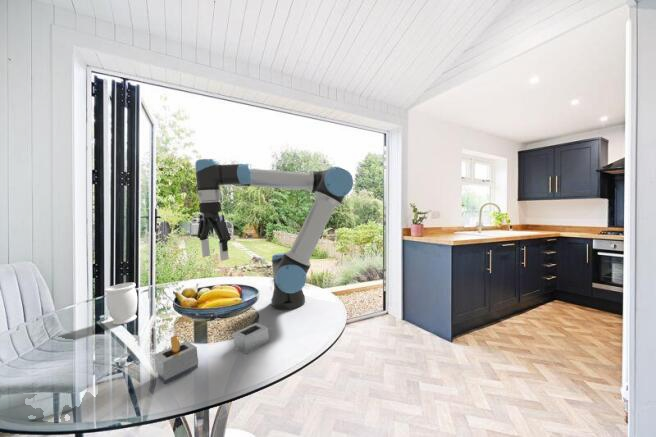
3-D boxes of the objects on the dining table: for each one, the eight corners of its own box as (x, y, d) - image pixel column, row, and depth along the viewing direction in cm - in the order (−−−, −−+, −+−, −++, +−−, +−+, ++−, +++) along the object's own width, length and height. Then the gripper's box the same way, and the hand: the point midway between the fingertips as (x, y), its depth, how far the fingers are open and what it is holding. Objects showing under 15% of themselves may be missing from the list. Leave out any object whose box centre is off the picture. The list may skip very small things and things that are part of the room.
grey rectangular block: (188, 356, 88) (186, 340, 87) (198, 363, 84) (196, 347, 83) (155, 371, 81) (153, 354, 81) (165, 380, 77) (163, 362, 76)
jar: (124, 326, 115) (119, 290, 114) (102, 326, 118) (98, 290, 116) (145, 315, 126) (141, 282, 124) (125, 314, 128) (121, 282, 127)
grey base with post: (190, 361, 88) (186, 328, 87) (198, 367, 84) (194, 333, 83) (158, 377, 81) (153, 341, 80) (165, 384, 78) (160, 346, 77)
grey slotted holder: (257, 336, 101) (256, 322, 101) (268, 341, 97) (267, 327, 97) (234, 347, 94) (233, 333, 94) (246, 354, 90) (244, 338, 90)
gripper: (184, 203, 112) (190, 256, 114) (217, 201, 96) (223, 264, 98) (203, 202, 118) (208, 253, 120) (237, 200, 102) (242, 259, 103)
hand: (215, 258), depth 109 cm, fingers open, 13 cm apart
